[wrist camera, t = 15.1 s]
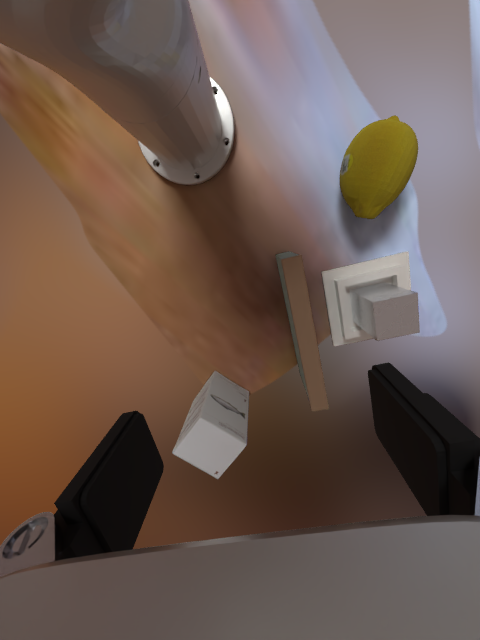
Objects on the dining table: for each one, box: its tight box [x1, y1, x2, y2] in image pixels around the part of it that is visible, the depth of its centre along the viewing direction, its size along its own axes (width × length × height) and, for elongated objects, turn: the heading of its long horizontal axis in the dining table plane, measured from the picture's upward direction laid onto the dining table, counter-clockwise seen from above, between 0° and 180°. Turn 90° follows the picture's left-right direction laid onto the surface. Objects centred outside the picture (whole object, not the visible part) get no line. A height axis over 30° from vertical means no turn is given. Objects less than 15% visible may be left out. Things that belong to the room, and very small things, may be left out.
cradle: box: [321, 251, 411, 346], centre depth 38 cm, size 12×12×2 cm
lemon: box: [340, 116, 418, 219], centre depth 31 cm, size 11×8×8 cm
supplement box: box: [172, 371, 249, 479], centre depth 39 cm, size 7×7×13 cm
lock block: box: [349, 282, 420, 341], centre depth 35 cm, size 5×5×8 cm
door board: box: [276, 252, 329, 412], centre depth 36 cm, size 20×2×10 cm, turn 14°
